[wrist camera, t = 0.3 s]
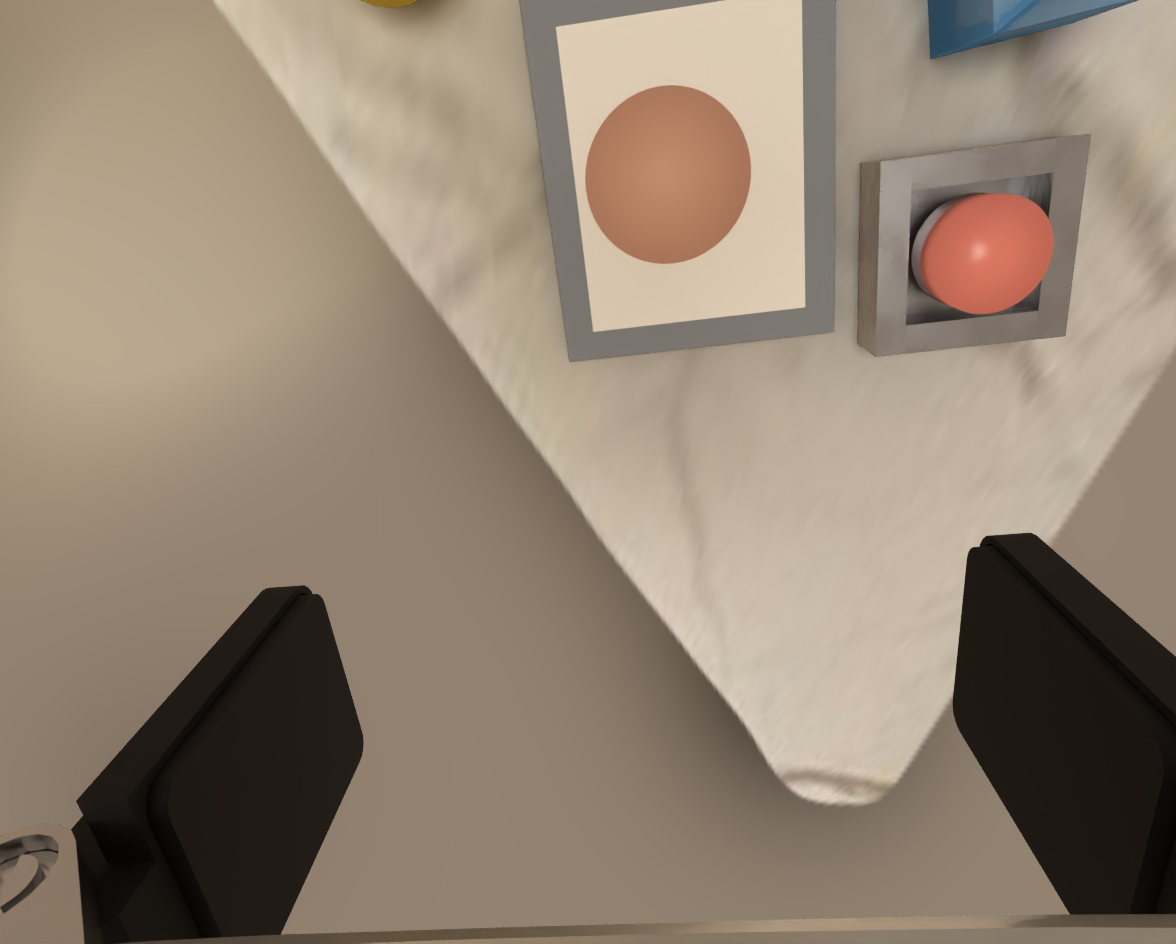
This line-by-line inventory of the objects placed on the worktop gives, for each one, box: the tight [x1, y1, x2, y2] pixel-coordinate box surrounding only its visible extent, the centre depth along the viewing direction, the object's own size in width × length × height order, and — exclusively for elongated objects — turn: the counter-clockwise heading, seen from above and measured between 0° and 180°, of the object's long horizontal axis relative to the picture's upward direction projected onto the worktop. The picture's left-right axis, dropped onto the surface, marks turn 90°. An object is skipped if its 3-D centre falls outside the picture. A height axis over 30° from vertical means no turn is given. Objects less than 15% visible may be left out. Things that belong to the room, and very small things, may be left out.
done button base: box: [858, 134, 1091, 357], centre depth 35 cm, size 9×9×3 cm
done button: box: [912, 193, 1054, 314], centre depth 33 cm, size 5×5×3 cm
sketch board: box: [519, 0, 836, 362], centre depth 35 cm, size 17×14×1 cm
